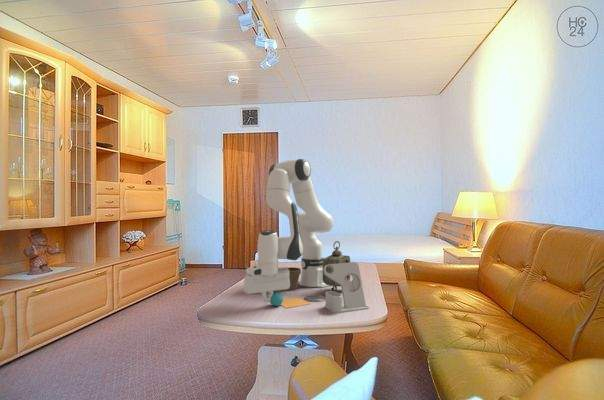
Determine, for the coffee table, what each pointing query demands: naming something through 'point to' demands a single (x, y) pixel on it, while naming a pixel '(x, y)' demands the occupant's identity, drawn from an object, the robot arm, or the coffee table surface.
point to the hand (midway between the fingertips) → (267, 301)
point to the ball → (276, 298)
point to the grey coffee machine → (345, 288)
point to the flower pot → (294, 277)
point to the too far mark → (314, 298)
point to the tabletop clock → (334, 259)
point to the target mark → (293, 302)
